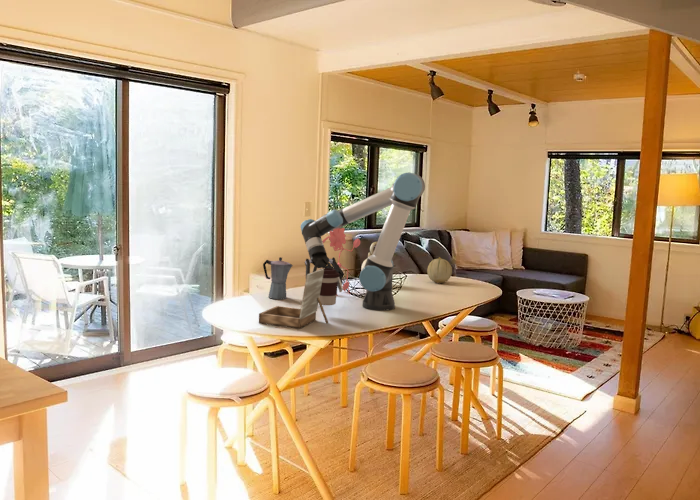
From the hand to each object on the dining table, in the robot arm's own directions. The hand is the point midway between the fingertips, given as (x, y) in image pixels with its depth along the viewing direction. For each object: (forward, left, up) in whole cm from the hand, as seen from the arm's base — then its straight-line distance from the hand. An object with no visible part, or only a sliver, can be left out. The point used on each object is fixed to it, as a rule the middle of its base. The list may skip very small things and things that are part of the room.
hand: (330, 291), depth 246 cm
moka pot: (+38, -26, -12) cm, 47 cm away
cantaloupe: (-25, -114, -12) cm, 118 cm away
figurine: (+18, -53, -12) cm, 57 cm away
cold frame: (+10, +14, -12) cm, 21 cm away
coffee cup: (+2, -2, -6) cm, 7 cm away
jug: (+6, -84, -12) cm, 85 cm away
